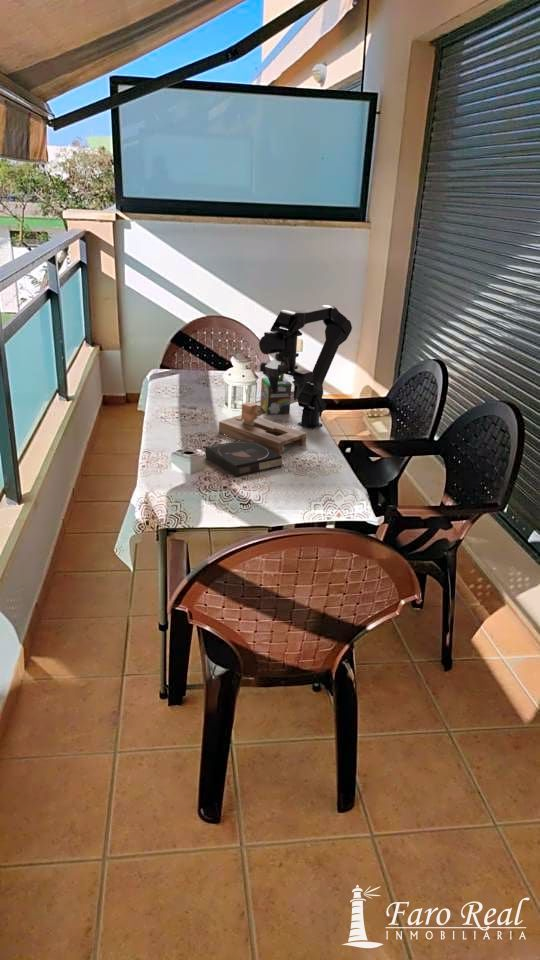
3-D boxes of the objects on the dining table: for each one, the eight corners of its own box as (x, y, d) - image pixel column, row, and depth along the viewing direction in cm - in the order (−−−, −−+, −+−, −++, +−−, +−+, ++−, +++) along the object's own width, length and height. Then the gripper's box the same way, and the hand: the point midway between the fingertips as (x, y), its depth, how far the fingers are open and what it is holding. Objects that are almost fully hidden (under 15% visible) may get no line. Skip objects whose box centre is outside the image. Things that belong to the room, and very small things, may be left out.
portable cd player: (235, 479, 192) (236, 466, 190) (205, 459, 204) (205, 446, 203) (281, 469, 201) (282, 456, 199) (249, 450, 213) (250, 438, 212)
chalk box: (282, 406, 257) (285, 368, 251) (290, 413, 249) (293, 374, 243) (259, 407, 254) (261, 368, 248) (266, 414, 246) (269, 375, 240)
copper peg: (247, 430, 229) (249, 401, 225) (257, 434, 226) (259, 404, 222) (238, 433, 226) (240, 403, 221) (248, 437, 223) (250, 407, 219)
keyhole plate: (246, 424, 235) (247, 412, 233) (305, 444, 220) (306, 432, 218) (218, 432, 225) (219, 420, 223) (278, 454, 210) (279, 442, 208)
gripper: (249, 348, 218) (247, 394, 224) (294, 360, 207) (290, 408, 213) (272, 343, 225) (269, 388, 232) (316, 354, 214) (312, 401, 221)
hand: (284, 396), depth 224 cm, fingers open, 9 cm apart
